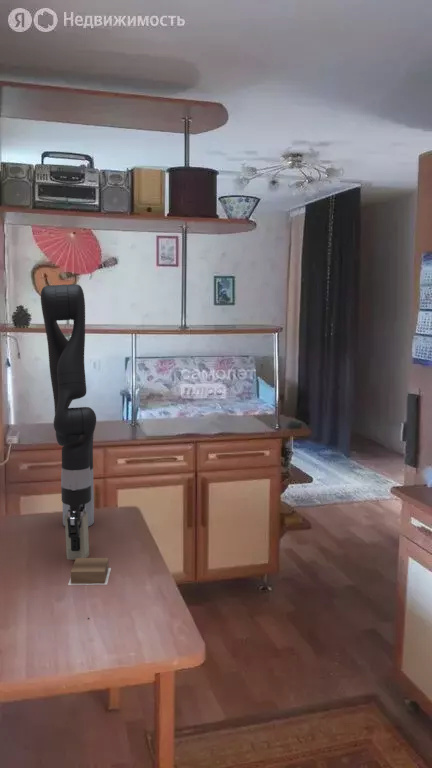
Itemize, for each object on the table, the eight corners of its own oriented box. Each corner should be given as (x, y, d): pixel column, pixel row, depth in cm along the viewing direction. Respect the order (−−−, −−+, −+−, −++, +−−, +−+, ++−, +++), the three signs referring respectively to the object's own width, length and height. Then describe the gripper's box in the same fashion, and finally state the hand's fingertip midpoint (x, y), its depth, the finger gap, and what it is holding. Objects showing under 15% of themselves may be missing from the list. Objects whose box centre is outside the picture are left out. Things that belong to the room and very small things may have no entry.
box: (89, 557, 176) (89, 510, 174) (84, 564, 171) (84, 516, 170) (70, 556, 176) (69, 510, 174) (65, 563, 172) (64, 515, 170)
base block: (76, 569, 166) (76, 557, 165) (108, 569, 166) (108, 557, 166) (70, 583, 158) (70, 571, 158) (104, 583, 158) (104, 571, 158)
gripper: (66, 475, 178) (67, 536, 180) (56, 492, 164) (57, 557, 166) (94, 475, 178) (95, 536, 181) (86, 492, 164) (87, 557, 166)
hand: (77, 546), depth 173 cm, fingers closed on box, 4 cm apart
